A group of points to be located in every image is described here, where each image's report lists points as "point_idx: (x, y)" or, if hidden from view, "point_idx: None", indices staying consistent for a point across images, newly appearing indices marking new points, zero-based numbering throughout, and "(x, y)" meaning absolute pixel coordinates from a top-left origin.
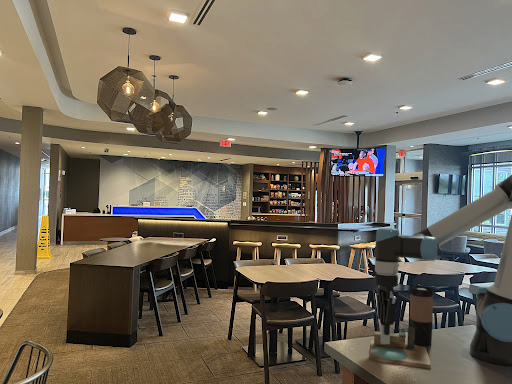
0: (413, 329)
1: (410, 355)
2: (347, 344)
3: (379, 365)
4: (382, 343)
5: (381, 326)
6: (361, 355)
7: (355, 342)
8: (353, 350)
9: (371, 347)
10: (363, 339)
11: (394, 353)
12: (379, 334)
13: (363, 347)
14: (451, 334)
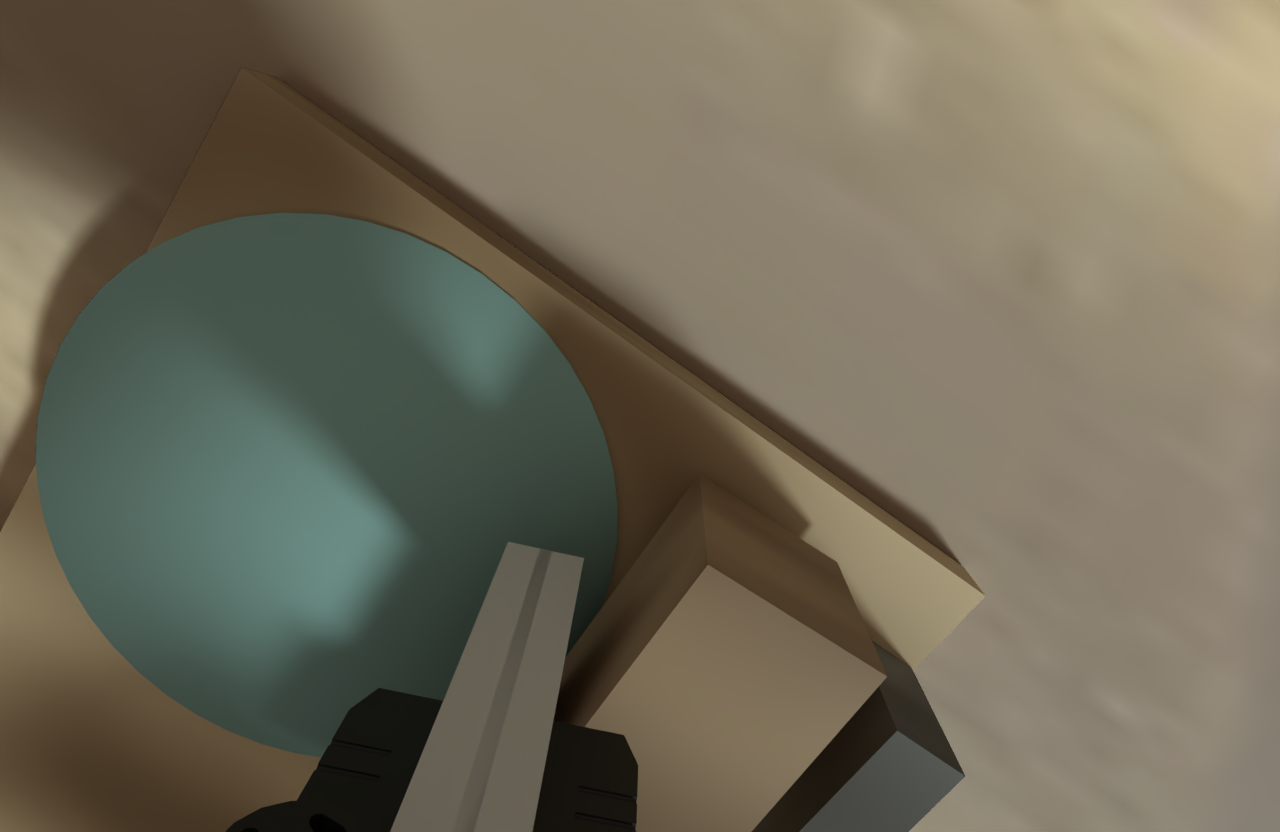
0: None
1: (204, 760)
2: (1079, 81)
3: (43, 110)
4: (506, 557)
5: (479, 807)
6: (498, 42)
7: (1107, 309)
8: (759, 24)
9: (642, 368)
10: (1175, 542)
11: (296, 580)
12: (643, 658)
13: (835, 314)
14: None
